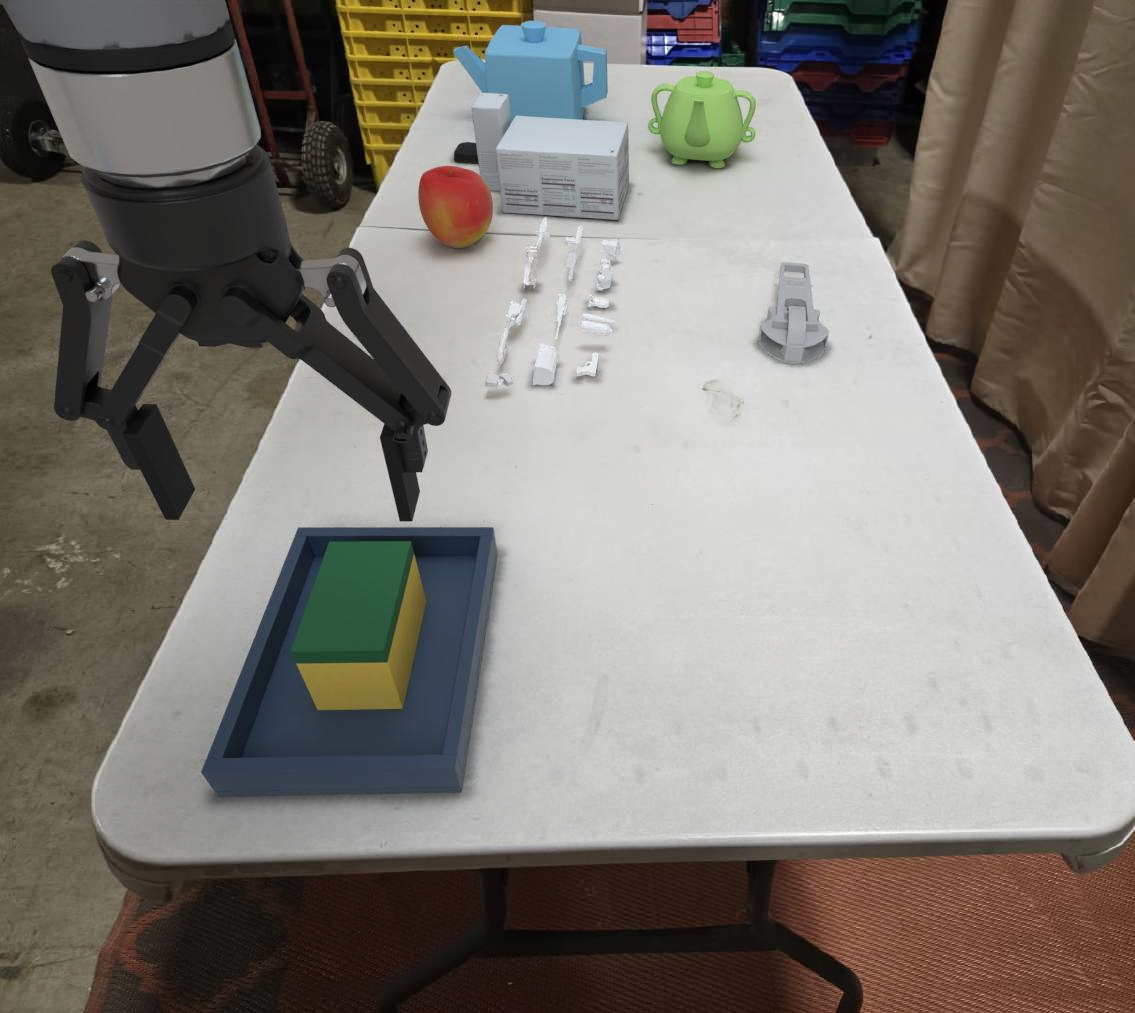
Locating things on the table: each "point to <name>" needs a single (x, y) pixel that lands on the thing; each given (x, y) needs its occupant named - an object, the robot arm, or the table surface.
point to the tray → (367, 736)
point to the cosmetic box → (490, 133)
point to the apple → (455, 205)
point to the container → (539, 70)
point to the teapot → (702, 119)
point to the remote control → (466, 153)
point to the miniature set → (558, 313)
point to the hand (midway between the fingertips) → (296, 505)
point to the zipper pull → (793, 320)
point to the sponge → (361, 626)
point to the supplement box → (564, 167)
